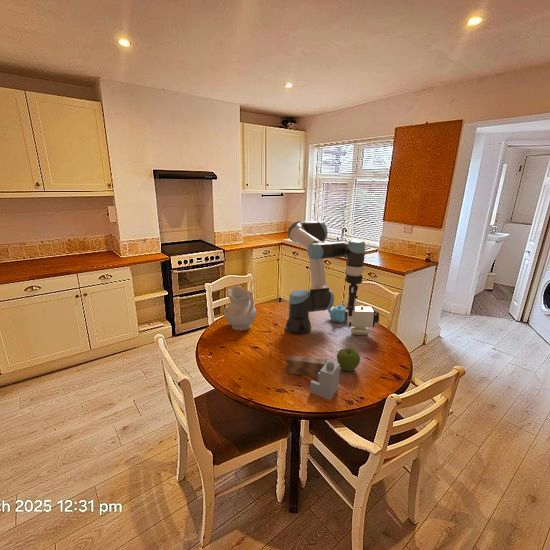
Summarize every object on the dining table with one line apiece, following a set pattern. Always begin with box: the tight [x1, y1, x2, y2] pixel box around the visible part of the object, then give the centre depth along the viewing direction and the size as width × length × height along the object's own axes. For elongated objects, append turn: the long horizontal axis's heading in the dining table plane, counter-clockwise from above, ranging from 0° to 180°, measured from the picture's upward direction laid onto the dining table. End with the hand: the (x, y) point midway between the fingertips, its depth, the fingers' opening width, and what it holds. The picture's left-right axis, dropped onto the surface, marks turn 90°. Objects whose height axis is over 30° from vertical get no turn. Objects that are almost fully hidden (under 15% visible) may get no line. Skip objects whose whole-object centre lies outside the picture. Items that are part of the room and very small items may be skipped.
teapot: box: [327, 301, 347, 324], centre depth 188 cm, size 13×13×10 cm
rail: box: [285, 354, 328, 378], centre depth 136 cm, size 18×4×7 cm, turn 77°
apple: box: [336, 347, 361, 372], centre depth 138 cm, size 11×10×10 cm
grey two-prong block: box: [309, 359, 341, 401], centre depth 123 cm, size 9×8×14 cm
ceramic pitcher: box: [223, 285, 257, 331], centre depth 178 cm, size 22×20×25 cm
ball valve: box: [344, 305, 380, 336], centre depth 170 cm, size 18×8×18 cm, turn 84°
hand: (351, 316), depth 144 cm, fingers open, 13 cm apart
